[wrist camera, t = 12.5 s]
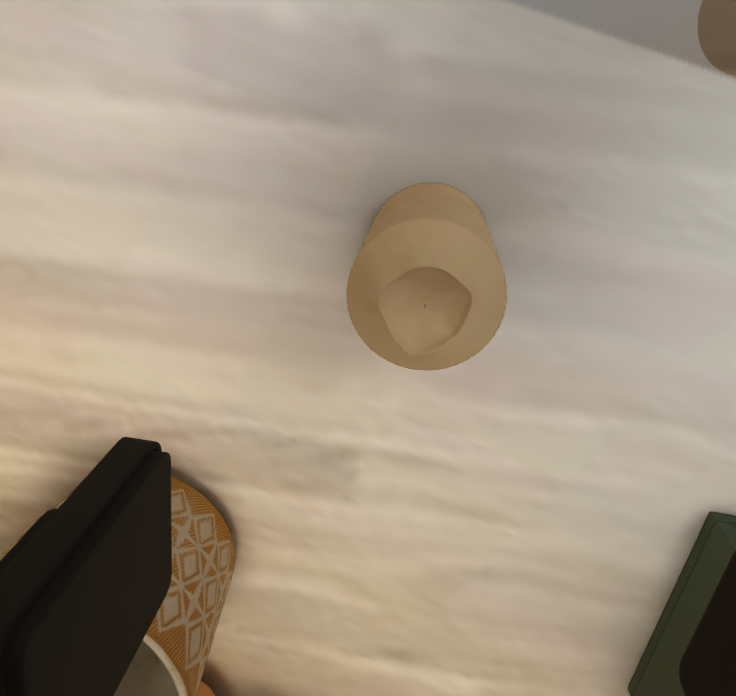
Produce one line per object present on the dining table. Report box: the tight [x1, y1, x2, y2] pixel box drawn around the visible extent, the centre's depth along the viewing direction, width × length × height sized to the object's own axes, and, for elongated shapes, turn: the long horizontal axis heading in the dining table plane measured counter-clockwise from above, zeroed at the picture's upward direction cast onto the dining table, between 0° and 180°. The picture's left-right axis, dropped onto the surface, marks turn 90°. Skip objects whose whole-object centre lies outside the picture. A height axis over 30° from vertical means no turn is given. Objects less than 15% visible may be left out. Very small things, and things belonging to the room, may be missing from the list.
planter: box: [0, 477, 235, 696], centre depth 32 cm, size 13×13×10 cm
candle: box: [347, 183, 507, 370], centre depth 24 cm, size 6×6×10 cm
